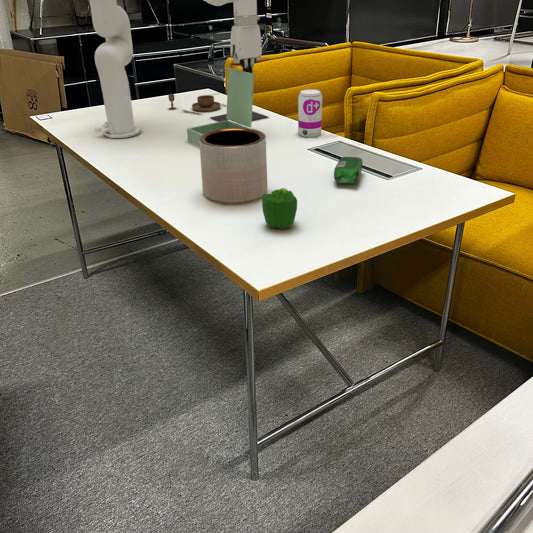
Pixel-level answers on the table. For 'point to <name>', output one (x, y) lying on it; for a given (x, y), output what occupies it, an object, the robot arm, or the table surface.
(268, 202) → the bell pepper
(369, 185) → the table surface
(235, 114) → the lid
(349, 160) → the snack package
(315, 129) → the supplement can
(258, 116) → the mat
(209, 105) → the place setting
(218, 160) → the planter
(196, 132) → the lunchbox
